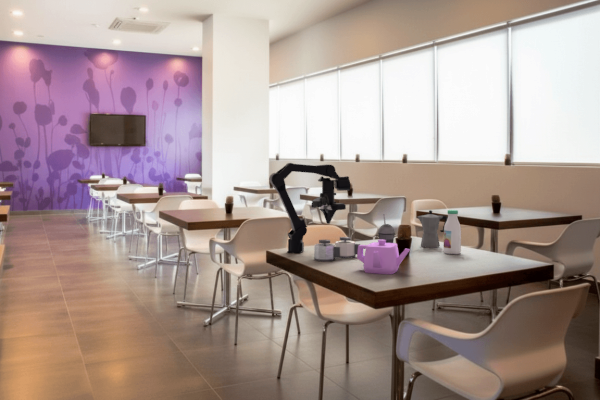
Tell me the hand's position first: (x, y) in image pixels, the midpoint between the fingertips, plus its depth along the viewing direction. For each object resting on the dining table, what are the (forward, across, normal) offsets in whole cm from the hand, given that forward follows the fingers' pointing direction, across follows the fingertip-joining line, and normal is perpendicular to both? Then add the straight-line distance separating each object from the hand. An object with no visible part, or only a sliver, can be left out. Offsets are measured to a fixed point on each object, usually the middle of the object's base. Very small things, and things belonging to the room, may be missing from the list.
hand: (328, 223), depth 272 cm
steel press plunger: (+11, +16, -17) cm, 26 cm away
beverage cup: (+13, +34, +4) cm, 36 cm away
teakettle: (+13, +49, -14) cm, 53 cm away
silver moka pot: (+13, +17, -16) cm, 27 cm away
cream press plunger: (+11, +16, -4) cm, 20 cm away
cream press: (+13, +17, -4) cm, 22 cm away
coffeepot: (+13, +24, +48) cm, 55 cm away
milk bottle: (+13, +42, +39) cm, 59 cm away
